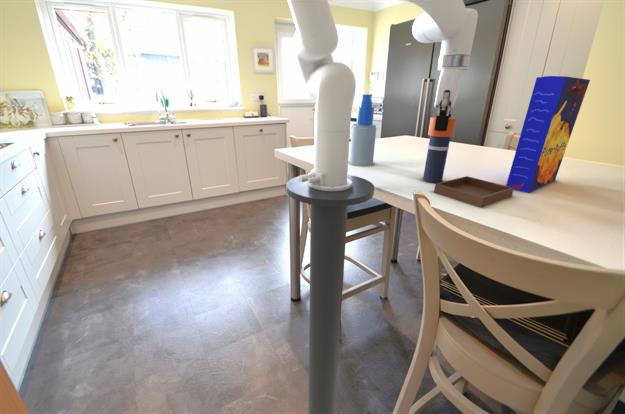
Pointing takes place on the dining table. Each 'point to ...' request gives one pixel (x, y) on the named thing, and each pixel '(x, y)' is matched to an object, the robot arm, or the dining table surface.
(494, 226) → the dining table surface
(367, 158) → the grey and blue bottle
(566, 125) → the cereal box
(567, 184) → the dining table surface
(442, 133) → the cap
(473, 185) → the tray
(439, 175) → the spray can
